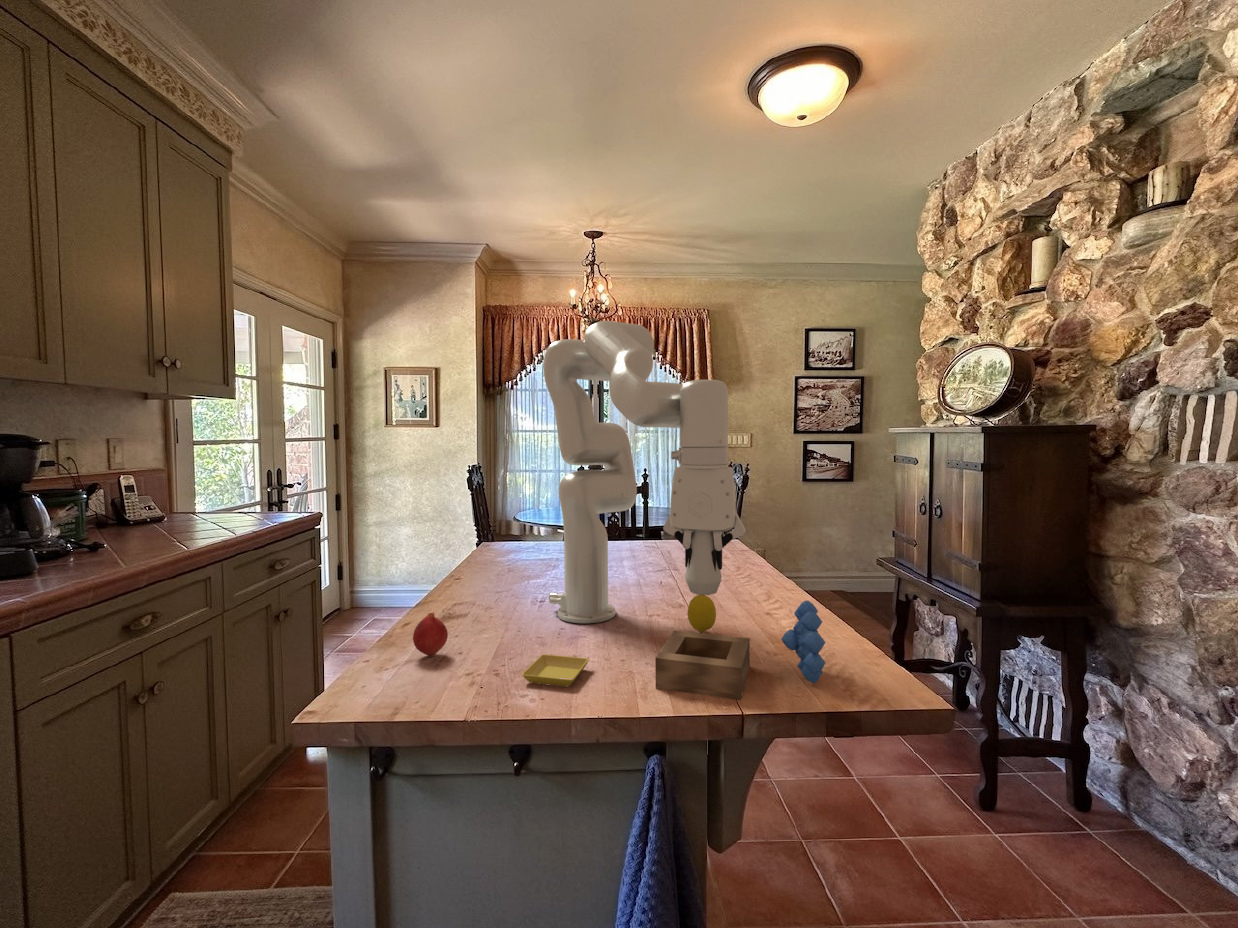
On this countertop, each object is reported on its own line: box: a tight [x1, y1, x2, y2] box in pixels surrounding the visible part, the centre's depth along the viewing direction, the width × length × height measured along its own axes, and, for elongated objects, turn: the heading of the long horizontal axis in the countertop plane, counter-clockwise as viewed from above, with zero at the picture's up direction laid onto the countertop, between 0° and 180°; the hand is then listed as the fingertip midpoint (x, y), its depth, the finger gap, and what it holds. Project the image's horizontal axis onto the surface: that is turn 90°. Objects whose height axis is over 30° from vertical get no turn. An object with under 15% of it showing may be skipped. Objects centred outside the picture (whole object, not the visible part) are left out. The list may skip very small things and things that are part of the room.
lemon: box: [687, 594, 717, 634], centre depth 111 cm, size 6×6×8 cm
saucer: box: [521, 654, 590, 687], centre depth 92 cm, size 9×9×2 cm
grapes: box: [780, 600, 826, 684], centre depth 91 cm, size 12×7×12 cm, turn 173°
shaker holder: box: [654, 630, 751, 701], centre depth 91 cm, size 13×13×5 cm
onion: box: [412, 611, 449, 657], centre depth 101 cm, size 6×6×8 cm
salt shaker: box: [684, 531, 722, 596], centre depth 91 cm, size 6×6×13 cm
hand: (703, 571), depth 91 cm, fingers closed on salt shaker, 3 cm apart
